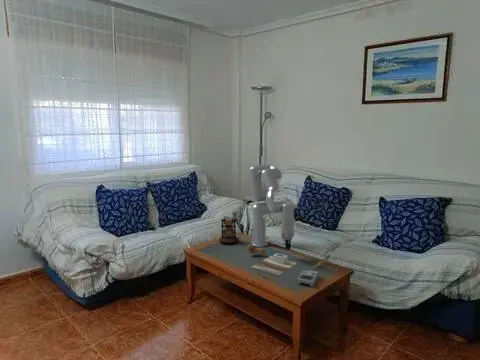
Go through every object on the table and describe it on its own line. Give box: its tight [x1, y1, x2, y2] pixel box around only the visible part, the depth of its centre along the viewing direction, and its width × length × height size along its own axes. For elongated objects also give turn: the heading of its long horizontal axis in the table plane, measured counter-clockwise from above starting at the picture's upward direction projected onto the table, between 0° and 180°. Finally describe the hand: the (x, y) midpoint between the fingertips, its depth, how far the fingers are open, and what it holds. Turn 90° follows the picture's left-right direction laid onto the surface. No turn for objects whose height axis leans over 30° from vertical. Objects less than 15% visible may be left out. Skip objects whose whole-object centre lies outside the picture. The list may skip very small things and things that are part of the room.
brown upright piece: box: [218, 216, 239, 245], centre depth 264 cm, size 15×15×20 cm
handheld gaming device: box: [296, 269, 319, 287], centre depth 198 cm, size 9×15×4 cm, turn 156°
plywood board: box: [251, 255, 297, 278], centre depth 217 cm, size 22×20×2 cm
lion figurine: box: [246, 244, 267, 258], centre depth 233 cm, size 15×5×9 cm, turn 86°
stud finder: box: [272, 252, 289, 264], centre depth 222 cm, size 5×8×4 cm, turn 52°
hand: (288, 248), depth 228 cm, fingers closed
